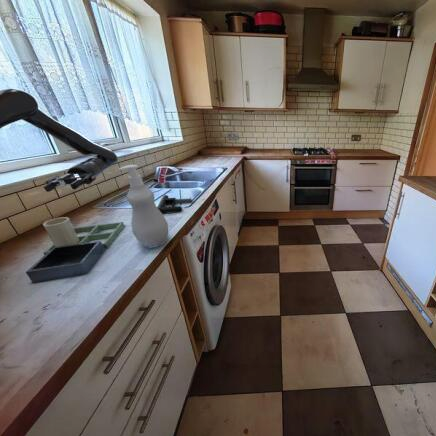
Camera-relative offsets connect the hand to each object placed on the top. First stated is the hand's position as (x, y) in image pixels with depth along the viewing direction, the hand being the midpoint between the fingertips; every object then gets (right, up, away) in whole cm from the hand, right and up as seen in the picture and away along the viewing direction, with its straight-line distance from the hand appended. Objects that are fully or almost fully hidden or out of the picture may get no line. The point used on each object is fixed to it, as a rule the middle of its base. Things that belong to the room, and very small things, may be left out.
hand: (59, 188), depth 82 cm
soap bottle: (+32, -20, +5) cm, 38 cm away
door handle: (+23, -4, +37) cm, 44 cm away
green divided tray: (+5, -19, +6) cm, 21 cm away
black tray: (+12, -26, -8) cm, 30 cm away
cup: (+2, -22, +2) cm, 22 cm away
